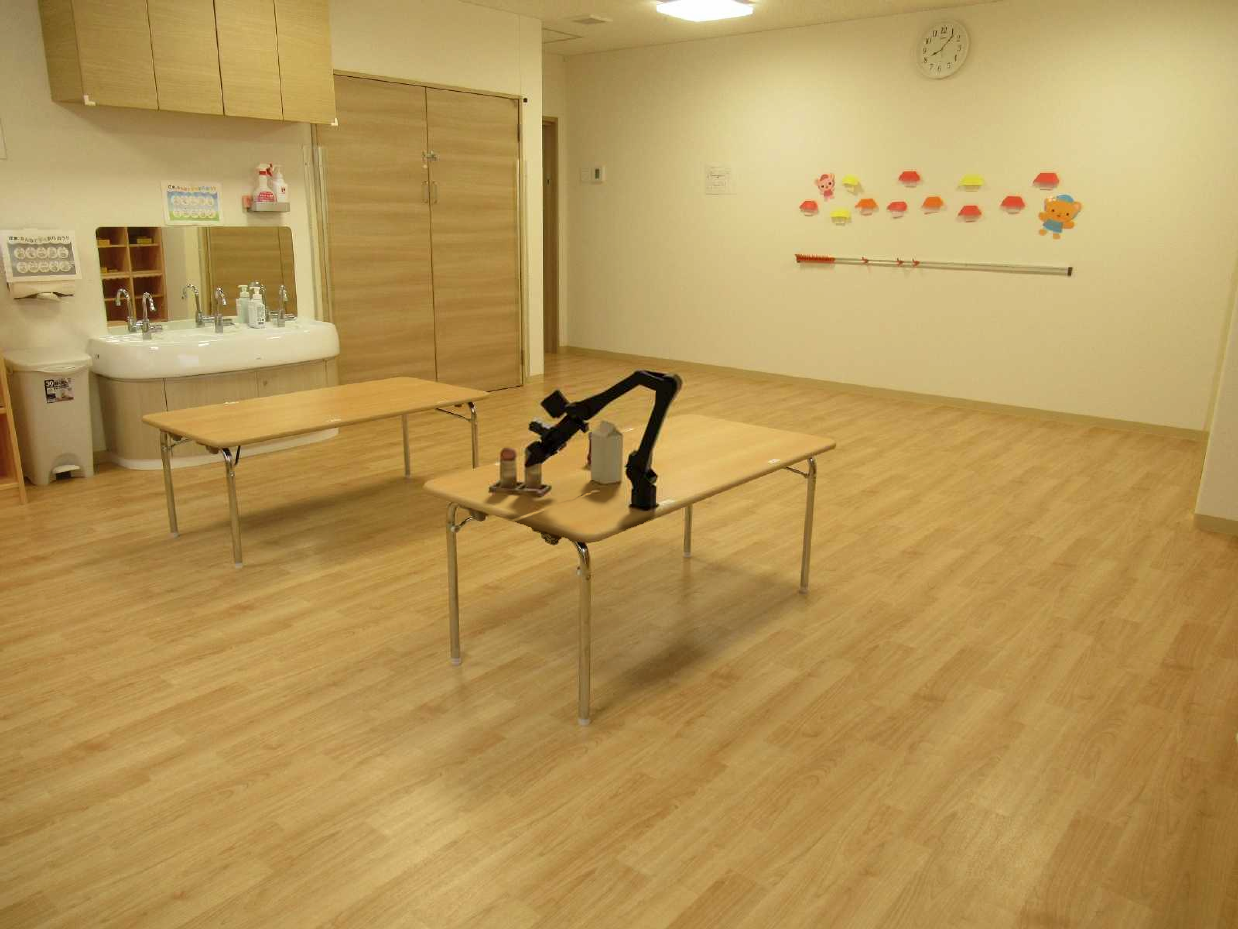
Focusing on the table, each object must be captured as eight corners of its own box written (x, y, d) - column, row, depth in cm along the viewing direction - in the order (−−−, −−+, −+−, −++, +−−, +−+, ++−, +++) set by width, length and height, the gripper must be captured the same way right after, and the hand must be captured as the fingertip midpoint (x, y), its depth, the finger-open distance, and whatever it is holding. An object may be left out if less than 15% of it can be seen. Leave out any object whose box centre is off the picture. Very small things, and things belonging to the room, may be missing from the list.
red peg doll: (520, 488, 269) (520, 447, 265) (508, 491, 265) (508, 450, 261) (507, 485, 272) (507, 444, 268) (496, 488, 268) (496, 447, 264)
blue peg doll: (544, 485, 267) (544, 443, 264) (536, 489, 263) (536, 447, 259) (529, 483, 269) (529, 441, 266) (521, 487, 264) (521, 445, 261)
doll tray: (551, 491, 269) (551, 485, 269) (541, 499, 261) (541, 492, 261) (500, 485, 274) (500, 479, 273) (489, 493, 266) (489, 487, 265)
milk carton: (603, 485, 277) (604, 424, 272) (590, 479, 283) (591, 420, 278) (622, 481, 281) (623, 422, 276) (608, 476, 287) (610, 418, 282)
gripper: (556, 403, 267) (522, 436, 273) (533, 415, 250) (497, 450, 256) (581, 431, 267) (546, 464, 273) (560, 445, 250) (523, 480, 256)
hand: (528, 464), depth 264 cm, fingers closed on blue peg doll, 5 cm apart
